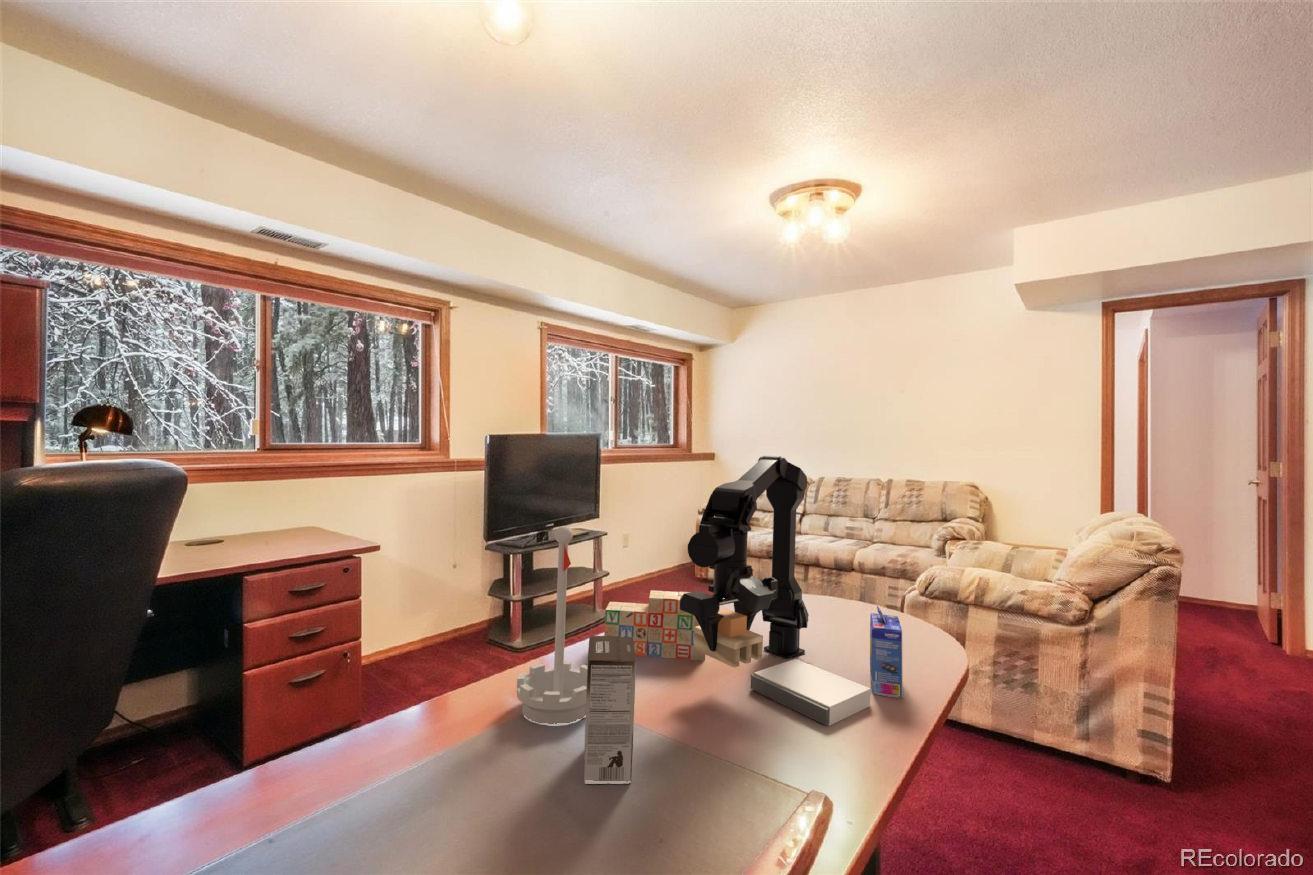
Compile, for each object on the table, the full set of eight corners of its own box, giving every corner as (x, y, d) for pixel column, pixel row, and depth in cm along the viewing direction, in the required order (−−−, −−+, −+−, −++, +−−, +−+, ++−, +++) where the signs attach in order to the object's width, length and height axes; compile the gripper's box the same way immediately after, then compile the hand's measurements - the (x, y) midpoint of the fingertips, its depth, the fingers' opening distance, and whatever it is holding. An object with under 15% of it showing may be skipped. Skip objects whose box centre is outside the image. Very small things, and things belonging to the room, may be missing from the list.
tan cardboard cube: (725, 625, 102) (726, 608, 102) (746, 633, 98) (746, 616, 98) (710, 629, 99) (710, 612, 99) (730, 637, 95) (730, 619, 95)
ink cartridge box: (868, 673, 110) (870, 600, 111) (898, 678, 109) (900, 604, 109) (869, 694, 101) (872, 614, 101) (902, 699, 99) (905, 618, 100)
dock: (794, 674, 109) (795, 658, 109) (870, 706, 96) (870, 688, 96) (750, 690, 101) (750, 673, 101) (826, 727, 88) (826, 708, 88)
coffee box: (585, 747, 80) (589, 634, 80) (629, 747, 81) (633, 635, 81) (581, 786, 71) (586, 659, 71) (632, 785, 72) (636, 659, 72)
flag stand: (510, 698, 95) (517, 521, 95) (584, 687, 100) (590, 519, 100) (523, 736, 83) (531, 533, 83) (607, 721, 88) (614, 531, 88)
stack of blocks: (602, 654, 116) (605, 594, 116) (607, 643, 123) (610, 587, 123) (705, 661, 114) (707, 600, 115) (705, 650, 121) (707, 593, 121)
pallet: (721, 641, 105) (722, 620, 105) (762, 658, 97) (762, 635, 97) (693, 649, 100) (694, 626, 100) (734, 667, 92) (734, 643, 93)
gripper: (725, 573, 87) (722, 674, 86) (800, 561, 98) (797, 650, 98) (679, 560, 95) (676, 652, 95) (753, 550, 107) (750, 632, 107)
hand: (727, 646), depth 99 cm, fingers closed on pallet, 7 cm apart
